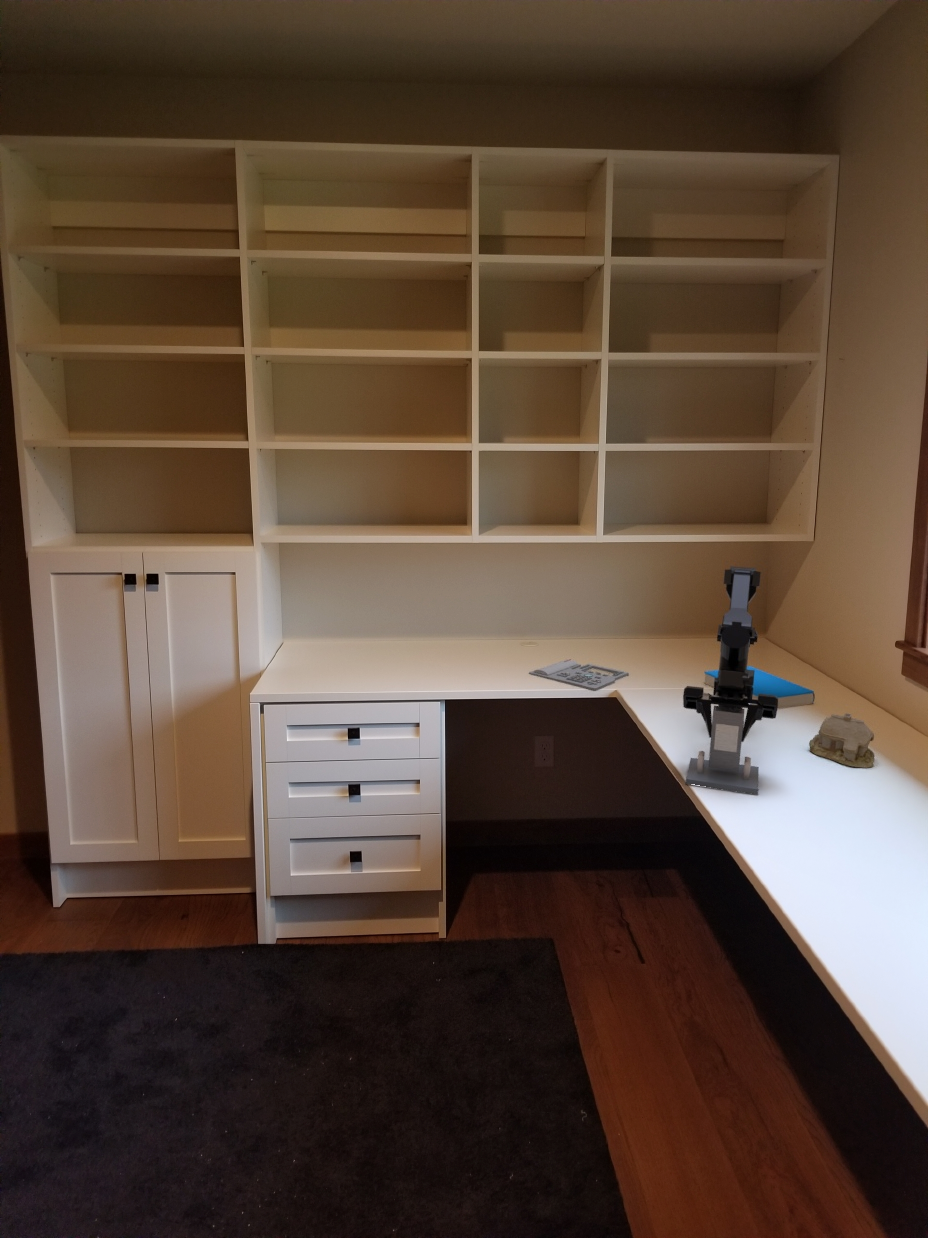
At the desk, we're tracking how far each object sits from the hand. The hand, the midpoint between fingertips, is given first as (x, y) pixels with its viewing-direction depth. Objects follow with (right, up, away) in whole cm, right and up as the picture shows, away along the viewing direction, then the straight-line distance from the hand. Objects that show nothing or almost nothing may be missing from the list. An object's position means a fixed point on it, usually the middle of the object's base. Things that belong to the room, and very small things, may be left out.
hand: (726, 739), depth 170 cm
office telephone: (-19, +7, +74) cm, 77 cm away
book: (+27, +3, +60) cm, 66 cm away
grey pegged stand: (0, -9, +3) cm, 9 cm away
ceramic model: (+31, -6, +16) cm, 36 cm away
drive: (0, -6, +3) cm, 7 cm away
